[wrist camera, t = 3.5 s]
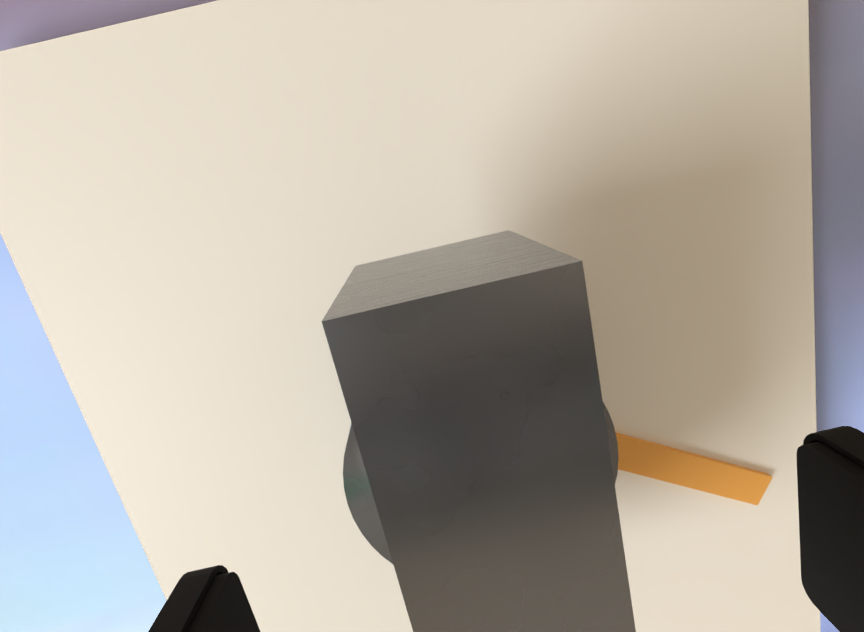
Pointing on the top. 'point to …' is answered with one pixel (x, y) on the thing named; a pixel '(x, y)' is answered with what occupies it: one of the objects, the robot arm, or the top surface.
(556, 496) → the knob
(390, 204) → the dial plate
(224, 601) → the robot arm
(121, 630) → the top surface
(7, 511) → the top surface
